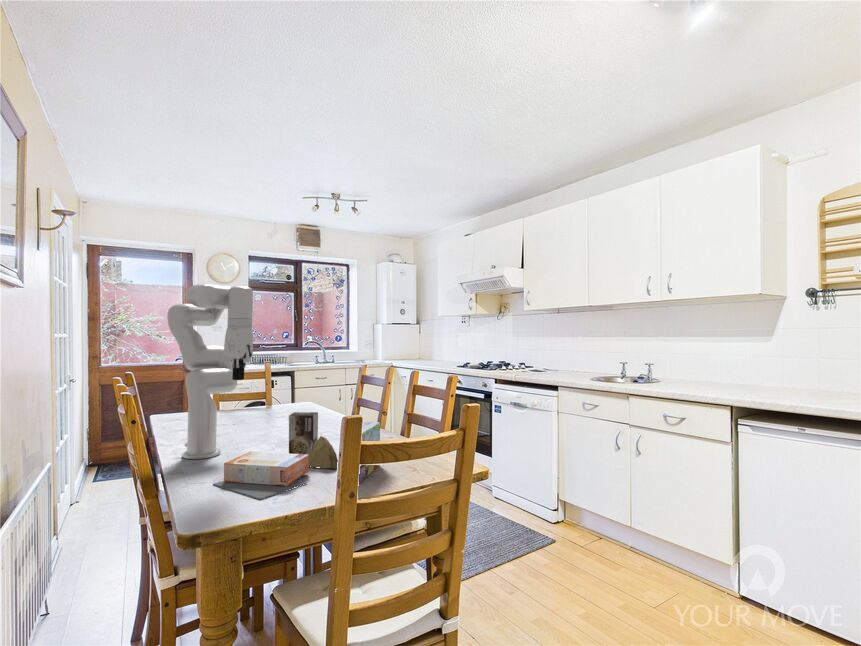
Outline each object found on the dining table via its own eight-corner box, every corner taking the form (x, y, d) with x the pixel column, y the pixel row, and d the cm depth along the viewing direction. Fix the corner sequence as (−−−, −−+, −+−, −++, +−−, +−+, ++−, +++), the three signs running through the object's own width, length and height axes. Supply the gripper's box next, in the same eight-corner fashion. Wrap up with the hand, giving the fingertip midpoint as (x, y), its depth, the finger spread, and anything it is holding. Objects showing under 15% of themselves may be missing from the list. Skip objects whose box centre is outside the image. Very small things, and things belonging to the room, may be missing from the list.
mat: (212, 485, 134) (212, 483, 134) (259, 471, 147) (259, 470, 148) (260, 500, 122) (260, 498, 122) (306, 484, 135) (306, 482, 136)
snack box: (359, 485, 135) (360, 434, 135) (342, 484, 136) (342, 433, 136) (380, 465, 156) (381, 421, 156) (364, 464, 157) (365, 420, 157)
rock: (347, 460, 153) (334, 450, 161) (335, 443, 149) (322, 433, 157) (322, 484, 148) (310, 472, 156) (308, 467, 145) (296, 456, 152)
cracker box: (222, 483, 136) (287, 487, 131) (222, 462, 136) (287, 465, 132) (250, 469, 149) (309, 472, 145) (250, 450, 149) (309, 453, 145)
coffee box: (318, 456, 167) (318, 411, 168) (313, 460, 161) (314, 414, 161) (293, 455, 167) (294, 411, 168) (287, 460, 161) (288, 414, 161)
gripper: (216, 323, 152) (215, 378, 152) (242, 324, 143) (240, 382, 143) (237, 324, 158) (235, 377, 158) (263, 324, 149) (261, 380, 149)
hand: (238, 379), depth 150 cm, fingers closed
